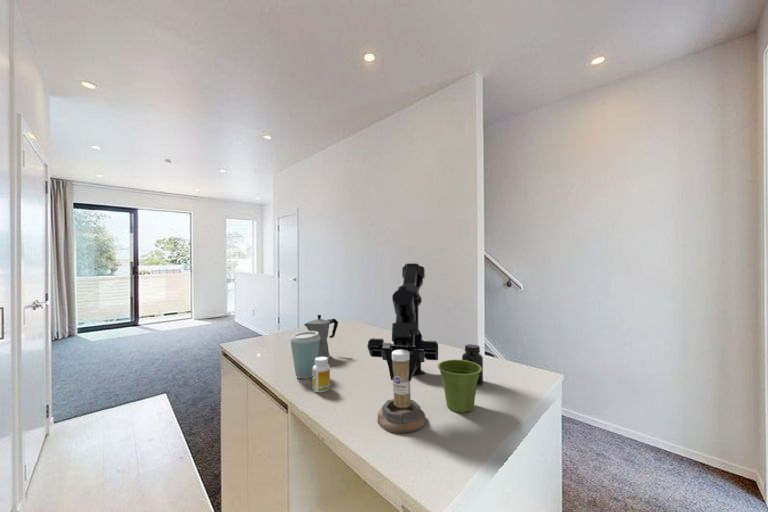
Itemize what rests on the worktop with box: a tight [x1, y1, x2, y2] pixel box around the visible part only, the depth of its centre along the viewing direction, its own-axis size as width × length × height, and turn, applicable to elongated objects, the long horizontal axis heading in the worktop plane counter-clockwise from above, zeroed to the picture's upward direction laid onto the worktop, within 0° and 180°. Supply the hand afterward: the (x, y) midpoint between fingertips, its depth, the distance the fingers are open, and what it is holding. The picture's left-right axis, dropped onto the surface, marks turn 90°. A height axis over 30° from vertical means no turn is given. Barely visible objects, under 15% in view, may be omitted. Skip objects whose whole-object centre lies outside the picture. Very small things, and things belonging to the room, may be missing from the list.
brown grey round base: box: [377, 398, 426, 435], centre depth 76 cm, size 12×12×4 cm
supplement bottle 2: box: [461, 344, 484, 386], centre depth 101 cm, size 7×7×12 cm
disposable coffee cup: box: [289, 330, 321, 379], centre depth 107 cm, size 11×11×15 cm
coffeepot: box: [303, 314, 339, 357], centre depth 129 cm, size 15×9×18 cm, turn 125°
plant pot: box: [437, 359, 482, 414], centre depth 84 cm, size 12×12×11 cm
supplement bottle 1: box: [311, 357, 331, 393], centre depth 96 cm, size 5×5×10 cm
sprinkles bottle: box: [392, 350, 412, 408], centre depth 77 cm, size 5×5×13 cm
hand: (400, 380), depth 75 cm, fingers closed on sprinkles bottle, 4 cm apart
